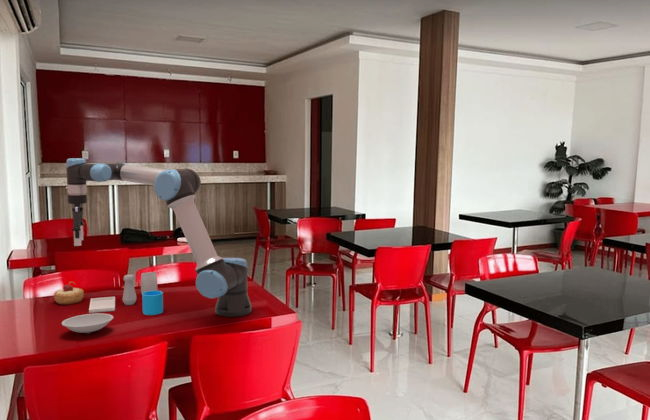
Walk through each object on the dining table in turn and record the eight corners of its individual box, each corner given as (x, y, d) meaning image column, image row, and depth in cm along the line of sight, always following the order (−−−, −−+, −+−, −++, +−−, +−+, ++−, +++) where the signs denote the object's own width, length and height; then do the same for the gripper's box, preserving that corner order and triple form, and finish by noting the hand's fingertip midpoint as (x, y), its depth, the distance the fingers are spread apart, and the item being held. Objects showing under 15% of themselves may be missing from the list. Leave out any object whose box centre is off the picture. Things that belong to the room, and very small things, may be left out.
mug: (163, 314, 218) (163, 295, 218) (142, 315, 216) (142, 296, 215) (162, 305, 230) (161, 287, 229) (142, 307, 227) (141, 289, 226)
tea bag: (157, 293, 249) (157, 272, 248) (142, 295, 245) (142, 274, 244) (155, 291, 252) (155, 271, 251) (141, 293, 248) (140, 272, 247)
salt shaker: (132, 301, 235) (131, 272, 234) (139, 303, 232) (138, 274, 230) (120, 304, 231) (119, 275, 229) (127, 306, 227) (126, 277, 226)
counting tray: (114, 310, 221) (114, 307, 221) (88, 313, 218) (88, 309, 218) (115, 299, 237) (115, 296, 237) (90, 301, 233) (90, 298, 233)
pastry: (48, 304, 230) (46, 285, 229) (69, 297, 241) (67, 278, 240) (69, 307, 226) (68, 287, 225) (90, 299, 237) (88, 280, 236)
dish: (110, 323, 206) (110, 311, 205) (116, 334, 194) (116, 321, 193) (60, 330, 197) (60, 317, 197) (63, 343, 185) (62, 329, 184)
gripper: (70, 191, 236) (71, 238, 239) (64, 197, 213) (66, 248, 216) (88, 191, 239) (89, 237, 241) (84, 196, 216) (86, 247, 218)
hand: (78, 242), depth 228 cm, fingers open, 13 cm apart
